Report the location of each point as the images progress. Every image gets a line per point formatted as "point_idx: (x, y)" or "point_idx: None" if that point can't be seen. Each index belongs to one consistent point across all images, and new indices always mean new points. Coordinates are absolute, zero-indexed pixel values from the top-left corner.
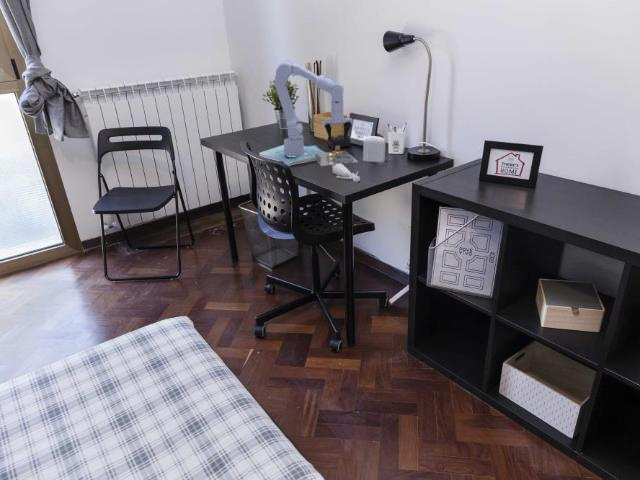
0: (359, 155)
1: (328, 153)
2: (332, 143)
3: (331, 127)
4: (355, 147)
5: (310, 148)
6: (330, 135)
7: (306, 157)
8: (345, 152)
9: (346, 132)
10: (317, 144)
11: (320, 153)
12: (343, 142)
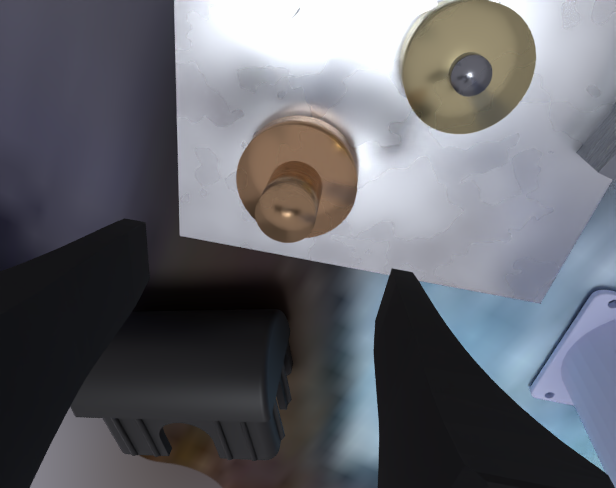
0: (74, 65)
1: (505, 79)
2: (274, 356)
3: (467, 457)
4: None
5: None
6: (424, 316)
7: (600, 274)
8: (201, 181)
9: (58, 267)
10: (313, 466)
11: (448, 273)
12: (156, 334)
